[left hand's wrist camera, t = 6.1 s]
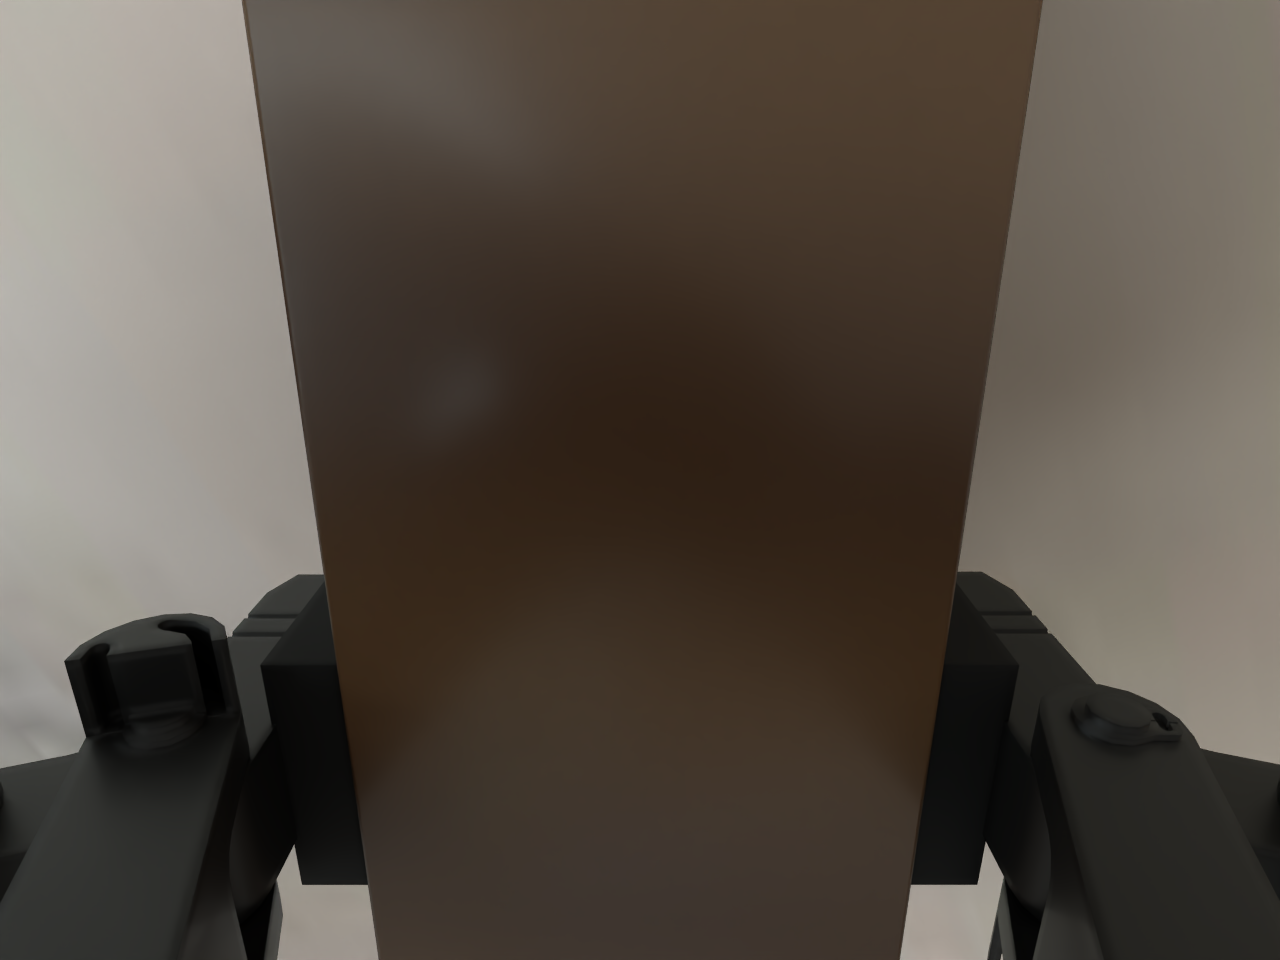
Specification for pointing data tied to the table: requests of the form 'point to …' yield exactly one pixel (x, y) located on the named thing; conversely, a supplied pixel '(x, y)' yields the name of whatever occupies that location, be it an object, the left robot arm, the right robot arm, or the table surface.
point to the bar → (640, 446)
